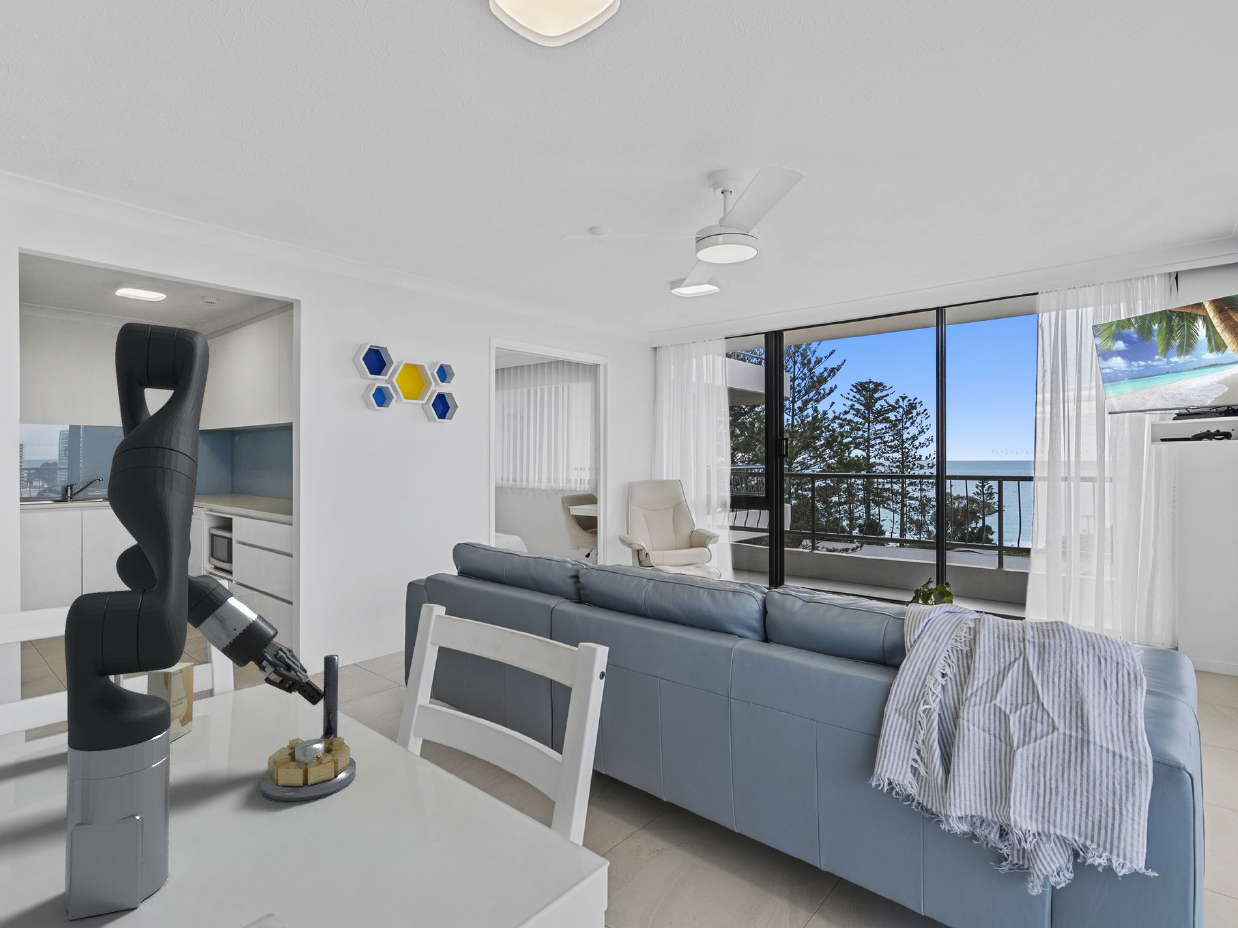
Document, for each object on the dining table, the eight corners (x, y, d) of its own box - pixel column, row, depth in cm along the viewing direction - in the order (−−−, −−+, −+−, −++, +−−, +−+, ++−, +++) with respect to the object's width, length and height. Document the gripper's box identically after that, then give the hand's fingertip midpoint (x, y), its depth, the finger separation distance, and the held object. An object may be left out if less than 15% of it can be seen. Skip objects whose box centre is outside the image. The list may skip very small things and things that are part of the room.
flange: (355, 793, 96) (355, 755, 96) (254, 809, 92) (254, 769, 92) (355, 757, 109) (356, 723, 109) (266, 769, 104) (267, 734, 104)
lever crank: (326, 786, 95) (327, 686, 95) (254, 784, 95) (255, 685, 95) (374, 740, 111) (375, 655, 111) (312, 738, 111) (313, 654, 112)
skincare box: (169, 743, 113) (170, 672, 113) (144, 743, 113) (145, 671, 114) (194, 729, 120) (195, 661, 120) (170, 729, 120) (171, 661, 120)
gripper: (248, 622, 101) (334, 695, 105) (264, 604, 113) (340, 670, 117) (207, 660, 99) (296, 732, 103) (228, 638, 112) (307, 703, 115)
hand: (320, 699), depth 110 cm, fingers closed
